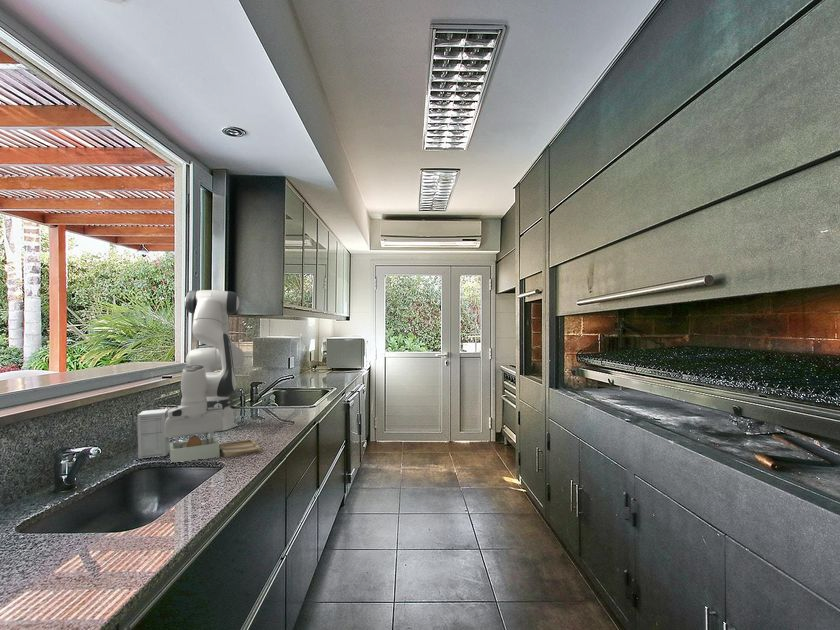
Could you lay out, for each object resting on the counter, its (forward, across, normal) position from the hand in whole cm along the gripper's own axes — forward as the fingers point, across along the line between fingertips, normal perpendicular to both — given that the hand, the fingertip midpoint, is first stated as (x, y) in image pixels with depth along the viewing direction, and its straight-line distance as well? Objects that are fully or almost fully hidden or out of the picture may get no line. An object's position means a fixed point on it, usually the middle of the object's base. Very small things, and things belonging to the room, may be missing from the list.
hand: (194, 445), depth 173 cm
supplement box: (+4, +13, -11) cm, 18 cm away
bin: (+4, 0, 0) cm, 4 cm away
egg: (+4, 0, 0) cm, 4 cm away
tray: (+4, -16, 0) cm, 16 cm away
